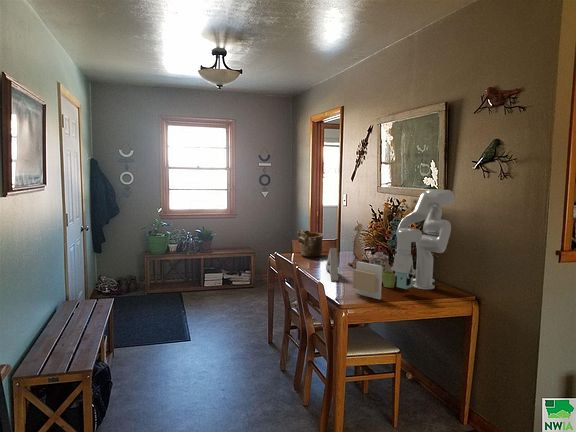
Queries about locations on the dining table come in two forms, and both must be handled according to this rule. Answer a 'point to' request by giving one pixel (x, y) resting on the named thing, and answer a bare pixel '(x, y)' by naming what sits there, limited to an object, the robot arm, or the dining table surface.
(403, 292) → the dining table surface
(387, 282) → the plant pot
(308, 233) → the ceramic vessel
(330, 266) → the wall bracket
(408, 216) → the robot arm
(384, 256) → the decorative jar
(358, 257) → the bird sculpture
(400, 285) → the teal cabinet
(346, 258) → the dining table surface
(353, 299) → the dining table surface
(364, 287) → the wall board
